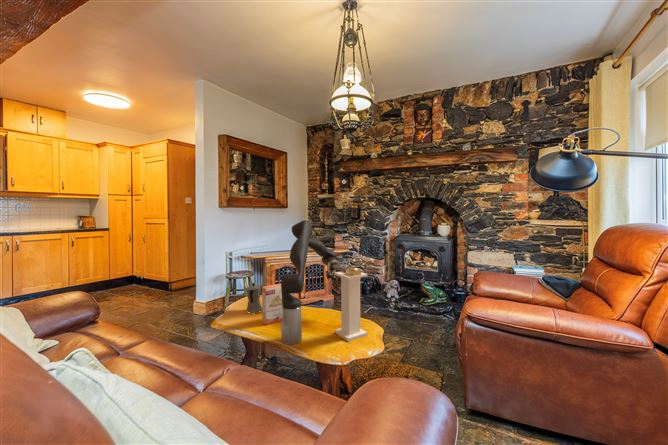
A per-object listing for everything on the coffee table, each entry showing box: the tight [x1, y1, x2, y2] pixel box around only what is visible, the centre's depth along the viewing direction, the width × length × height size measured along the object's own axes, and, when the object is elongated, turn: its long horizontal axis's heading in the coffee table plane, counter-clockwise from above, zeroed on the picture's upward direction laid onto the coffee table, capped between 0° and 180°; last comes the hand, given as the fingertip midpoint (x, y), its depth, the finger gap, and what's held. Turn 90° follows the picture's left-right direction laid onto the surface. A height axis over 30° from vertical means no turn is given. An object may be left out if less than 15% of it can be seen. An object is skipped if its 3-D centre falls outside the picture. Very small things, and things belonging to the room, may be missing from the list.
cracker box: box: [261, 282, 283, 326], centre depth 166 cm, size 14×6×21 cm, turn 126°
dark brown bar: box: [333, 265, 362, 276], centre depth 151 cm, size 5×20×3 cm, turn 33°
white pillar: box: [334, 271, 368, 343], centre depth 148 cm, size 12×12×32 cm
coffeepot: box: [245, 282, 262, 314], centre depth 181 cm, size 15×9×18 cm, turn 6°
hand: (341, 278), depth 163 cm, fingers open, 8 cm apart
